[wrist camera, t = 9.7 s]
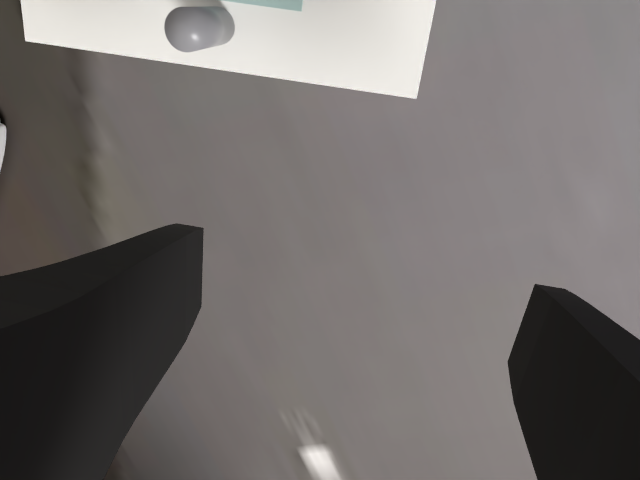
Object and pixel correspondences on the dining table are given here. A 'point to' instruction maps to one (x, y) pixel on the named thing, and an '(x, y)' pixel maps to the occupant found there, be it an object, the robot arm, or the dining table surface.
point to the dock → (253, 36)
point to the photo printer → (2, 142)
